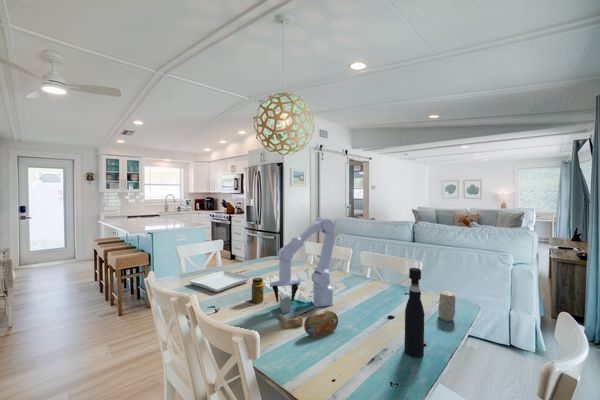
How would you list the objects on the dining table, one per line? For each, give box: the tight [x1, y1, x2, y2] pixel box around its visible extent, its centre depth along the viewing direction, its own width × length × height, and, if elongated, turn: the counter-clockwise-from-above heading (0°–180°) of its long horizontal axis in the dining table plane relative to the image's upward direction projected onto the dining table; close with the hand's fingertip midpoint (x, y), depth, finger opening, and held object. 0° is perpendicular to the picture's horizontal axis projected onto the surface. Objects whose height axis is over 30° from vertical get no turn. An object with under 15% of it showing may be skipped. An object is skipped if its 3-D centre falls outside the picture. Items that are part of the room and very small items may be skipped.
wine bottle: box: [404, 267, 425, 359], centre depth 101 cm, size 6×6×30 cm
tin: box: [303, 310, 339, 338], centre depth 115 cm, size 15×3×8 cm, turn 117°
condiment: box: [245, 277, 267, 306], centre depth 147 cm, size 7×8×12 cm
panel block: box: [279, 294, 292, 314], centre depth 138 cm, size 4×7×6 cm, turn 14°
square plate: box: [188, 270, 252, 293], centre depth 176 cm, size 27×27×4 cm
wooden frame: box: [277, 311, 304, 329], centre depth 125 cm, size 9×11×4 cm
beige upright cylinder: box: [437, 290, 456, 322], centre depth 128 cm, size 6×8×12 cm
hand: (284, 300), depth 138 cm, fingers open, 7 cm apart
